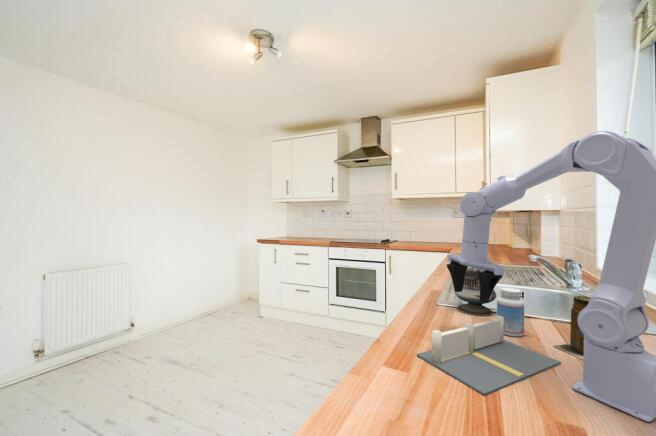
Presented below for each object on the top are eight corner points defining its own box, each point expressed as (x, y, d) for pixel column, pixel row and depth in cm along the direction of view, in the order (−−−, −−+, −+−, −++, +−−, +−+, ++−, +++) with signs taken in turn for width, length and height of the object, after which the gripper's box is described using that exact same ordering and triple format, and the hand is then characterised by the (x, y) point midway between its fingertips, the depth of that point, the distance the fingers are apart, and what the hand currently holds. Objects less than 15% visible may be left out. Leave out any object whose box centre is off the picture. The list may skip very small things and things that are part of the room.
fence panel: (476, 349, 64) (476, 324, 64) (469, 346, 65) (469, 321, 65) (505, 341, 68) (505, 317, 68) (497, 338, 70) (497, 315, 70)
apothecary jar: (468, 303, 102) (469, 251, 102) (503, 312, 92) (504, 255, 92) (446, 308, 96) (447, 253, 96) (482, 319, 85) (483, 258, 85)
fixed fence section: (468, 348, 65) (468, 321, 65) (475, 351, 64) (475, 324, 64) (429, 359, 60) (430, 330, 60) (436, 363, 58) (437, 333, 58)
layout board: (560, 363, 60) (561, 361, 60) (484, 395, 48) (484, 392, 48) (489, 335, 73) (489, 333, 73) (416, 355, 62) (416, 353, 62)
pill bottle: (528, 338, 72) (529, 293, 72) (501, 336, 73) (502, 291, 73) (517, 329, 78) (518, 287, 78) (493, 327, 79) (493, 286, 79)
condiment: (617, 358, 63) (618, 302, 62) (587, 362, 61) (588, 304, 61) (581, 343, 70) (582, 293, 70) (552, 346, 68) (553, 295, 68)
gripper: (440, 237, 76) (436, 288, 77) (490, 247, 63) (485, 308, 64) (460, 237, 79) (456, 286, 80) (512, 246, 66) (506, 305, 67)
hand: (470, 296), depth 72 cm, fingers open, 7 cm apart
